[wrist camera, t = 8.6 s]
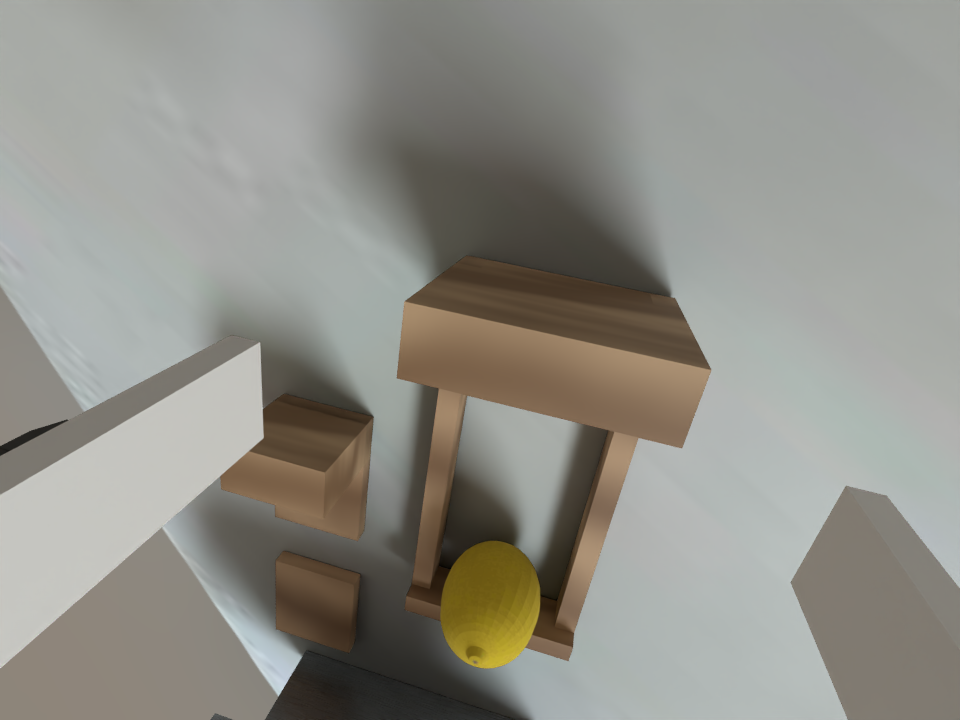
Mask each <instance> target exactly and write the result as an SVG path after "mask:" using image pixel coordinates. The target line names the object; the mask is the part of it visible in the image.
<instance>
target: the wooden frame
mask: <svg viewBox="0 0 960 720" xmlns="http://www.w3.org/2000/svg"><path fill="white" fill-rule="evenodd" d="M710 373H711V368H710V366H709V364H708V362H707V360H706V359H705V357H704V355H703V353H702V351H701V349H700V347H699V345H698V343H697V341H696V339H695V337H694V335H693V333H692V331H691V329H690V327H689V325H688V323H687V321H686V319H685V317H684V315H683V313H682V311H681V309H680V307H679V305H678V303H677V301H676V299H675V298H671V297H666V296H661V295H656V294H652V293H647V292H642V291H637V290H632V289H627V288H623V287H618V286H613V285H608V284H603V283H598V282H594V281H589V280H584V279H579V278H574V277H569V276H564V275H560V274H555V273H550V272H545V271H540V270H535V269H531V268H526V267H521V266H516V265H511V264H506V263H502V262H497V261H492V260H487V259H482V258H477V257H473V256H468V255H466V256H465V257H464V258H462V259H461V260H460V261H458V262H457V263H456V264H454V265H453V266H452V267H450V268H449V269H448V270H446V271H445V272H443V273H442V274H441V275H439V276H438V277H437V278H435V279H434V280H433V281H431V282H430V283H429V284H427V285H426V286H425V287H423V288H422V289H421V290H419V291H418V292H417V293H415V294H414V295H413V296H411V297H410V298H409V299H407V300H406V301H405V302H404V311H403V321H402V331H401V341H400V351H399V361H398V371H397V378H398V379H402V380H406V381H410V382H414V383H418V384H423V385H427V386H431V387H435V388H439V392H438V399H437V406H436V413H435V420H434V428H433V435H432V442H431V449H430V456H429V463H428V471H427V478H426V485H425V492H424V499H423V506H422V514H421V521H420V528H419V535H418V542H417V550H416V557H415V564H414V571H413V578H412V584H411V587H410V589H409V591H408V593H407V596H406V602H405V609H404V610H407V611H410V612H413V613H416V614H419V615H423V616H426V617H429V618H432V619H435V620H439V621H441V619H440V612H441V599H442V592H443V588H444V584H445V581H446V579H447V577H448V574H449V572H450V569H447V568H444V567H440V566H439V562H440V556H441V550H442V544H443V538H444V532H445V526H446V520H447V514H448V508H449V502H450V496H451V490H452V484H453V478H454V472H455V465H456V459H457V453H458V447H459V441H460V435H461V429H462V423H463V417H464V411H465V405H466V399H467V396H471V397H475V398H479V399H483V400H487V401H492V402H496V403H500V404H504V405H508V406H512V407H516V408H520V409H524V410H528V411H532V412H536V413H540V414H544V415H548V416H552V417H557V418H561V419H565V420H569V421H573V422H577V423H581V424H585V425H589V426H593V427H597V428H601V429H605V430H608V433H607V437H606V440H605V443H604V447H603V450H602V453H601V457H600V460H599V463H598V467H597V470H596V473H595V477H594V480H593V483H592V487H591V490H590V493H589V497H588V500H587V503H586V507H585V510H584V513H583V516H582V520H581V523H580V526H579V530H578V533H577V536H576V540H575V543H574V546H573V550H572V553H571V556H570V560H569V563H568V566H567V570H566V573H565V576H564V580H563V583H562V586H561V590H560V593H559V596H558V600H557V601H555V600H551V599H548V598H545V597H541V596H540V611H539V616H538V620H537V623H536V625H535V628H534V631H533V633H532V636H531V638H530V640H529V642H528V644H527V645H526V647H525V648H528V649H531V650H535V651H538V652H541V653H544V654H547V655H551V656H554V657H557V658H560V659H563V660H567V661H569V658H570V655H571V652H572V649H573V639H574V631H575V628H576V625H577V622H578V619H579V616H580V613H581V610H582V607H583V604H584V601H585V598H586V595H587V592H588V589H589V586H590V583H591V580H592V577H593V574H594V571H595V568H596V565H597V562H598V559H599V556H600V553H601V550H602V547H603V544H604V540H605V537H606V534H607V531H608V528H609V525H610V522H611V519H612V516H613V513H614V510H615V507H616V504H617V501H618V498H619V495H620V492H621V489H622V486H623V483H624V480H625V477H626V474H627V471H628V468H629V465H630V462H631V459H632V456H633V453H634V450H635V447H636V444H637V441H638V438H642V439H646V440H650V441H654V442H658V443H662V444H666V445H670V446H674V447H678V448H682V447H683V444H684V442H685V439H686V436H687V434H688V431H689V428H690V426H691V423H692V420H693V418H694V415H695V412H696V410H697V407H698V404H699V402H700V399H701V397H702V394H703V391H704V389H705V386H706V383H707V381H708V378H709V375H710Z"/></svg>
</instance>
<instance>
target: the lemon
mask: <svg viewBox="0 0 960 720" xmlns="http://www.w3.org/2000/svg"><path fill="white" fill-rule="evenodd" d="M539 611H540V585H539V581H538V577H537V574H536V571H535V568H534V567H533V565H532V564H531V562H530V560H529V559H528V557H527V556H526V555H525V554H524V553H522V552H521V551H520V550H519V549H518V548H516V547H515V546H513V545H511V544H508V543H505V542H501V541H486V542H482V543H478V544H476V545H474V546H472V547H471V548H469V549H467V550H466V551H465V552H464V553H463V554H462V555H461V556H460V557H459V558H458V559H457V560H456V562H455V563H454V565H453V566H452V568H451V570H450V572H449V574H448V577H447V579H446V581H445V584H444V588H443V592H442V599H441V612H440V619H441V626H442V630H443V634H444V637H445V639H446V641H447V643H448V645H449V646H450V648H451V649H452V651H453V652H454V653H455V654H456V655H457V656H458V657H459V658H460V659H462V660H463V661H464V662H466V663H468V664H470V665H472V666H475V667H478V668H496V667H500V666H503V665H505V664H507V663H509V662H511V661H512V660H514V659H515V658H516V657H517V656H518V655H519V654H520V653H521V652H522V651H523V649H524V648H525V647H526V645H527V644H528V642H529V640H530V638H531V636H532V633H533V631H534V628H535V625H536V623H537V620H538V616H539Z"/></svg>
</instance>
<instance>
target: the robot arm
mask: <svg viewBox="0 0 960 720" xmlns="http://www.w3.org/2000/svg"><path fill="white" fill-rule="evenodd" d="M263 438H264V434H263V406H262V378H261V350H260V342H258V341H254V340H250V339H246V338H241V337H237V336H233V335H230V336H229V337H227V338H225V339H223V340H221V341H219V342H217V343H215V344H213V345H211V346H209V347H208V348H206V349H204V350H202V351H200V352H198V353H196V354H194V355H192V356H190V357H188V358H187V359H185V360H183V361H181V362H179V363H177V364H175V365H173V366H171V367H169V368H167V369H166V370H164V371H162V372H160V373H158V374H156V375H154V376H152V377H150V378H148V379H146V380H145V381H143V382H141V383H139V384H137V385H135V386H133V387H131V388H129V389H127V390H125V391H124V392H122V393H120V394H118V395H116V396H114V397H112V398H110V399H108V400H106V401H105V402H103V403H101V404H99V405H97V406H95V407H93V408H91V409H89V410H87V411H85V412H84V413H82V414H80V415H78V416H76V417H74V418H72V419H70V420H64V421H61V422H58V423H55V424H51V425H48V426H45V427H42V428H38V429H35V430H32V431H29V432H27V433H25V434H23V435H21V436H20V437H17V438H15V439H14V440H12V441H10V442H8V443H6V444H4V445H2V446H0V668H1V667H2V666H3V665H5V664H6V663H7V662H8V661H9V660H10V659H11V658H13V657H14V656H15V655H16V654H17V653H18V652H20V651H21V650H22V649H23V648H24V647H25V646H26V645H27V644H28V643H30V642H31V641H32V640H33V639H34V638H35V637H37V636H38V635H39V634H40V633H41V632H42V631H43V630H45V629H46V628H47V627H48V626H49V625H50V624H51V623H53V622H54V621H55V620H56V619H57V618H58V617H60V615H62V614H63V613H64V612H65V611H66V610H68V609H69V608H70V607H71V606H72V605H73V604H74V603H76V601H78V600H79V599H80V598H81V597H82V596H83V595H85V594H86V593H87V592H88V591H89V590H90V589H91V588H93V587H94V586H95V585H96V584H97V583H98V582H99V581H101V580H102V579H103V578H104V577H105V576H106V575H108V574H109V573H110V572H111V571H112V570H113V569H114V568H115V567H117V566H118V565H119V564H120V563H121V562H122V561H123V560H124V559H126V558H127V557H128V556H129V555H130V554H132V553H133V552H134V551H135V550H136V549H137V548H138V547H140V546H141V545H142V544H143V543H144V542H145V541H146V540H148V539H149V538H150V537H151V536H152V535H153V534H154V533H156V532H157V531H158V530H159V529H160V528H161V527H162V526H164V525H165V524H166V523H167V522H168V521H169V520H170V519H172V518H173V517H174V516H175V515H176V514H177V513H178V512H180V511H181V510H182V509H183V508H184V507H185V506H186V505H188V504H189V503H190V502H191V501H192V500H193V499H195V498H196V497H197V496H198V495H199V494H200V493H201V492H203V491H204V490H205V489H206V488H207V487H208V486H209V485H211V484H212V483H213V482H214V481H215V480H216V479H217V478H219V477H220V476H221V475H222V474H223V473H224V472H225V471H227V470H228V469H229V468H230V467H231V466H232V465H233V464H235V463H236V462H237V461H238V460H239V459H240V458H241V457H243V456H244V455H245V454H246V453H247V452H248V451H249V450H251V449H252V448H253V447H254V446H255V445H256V444H257V443H259V442H260V441H261V440H262V439H263ZM791 584H792V587H793V589H794V592H795V594H796V596H797V599H798V601H799V604H800V606H801V608H802V611H803V613H804V615H805V618H806V620H807V623H808V625H809V627H810V630H811V632H812V635H813V637H814V639H815V642H816V644H817V647H818V649H819V651H820V654H821V656H822V659H823V661H824V663H825V666H826V668H827V671H828V673H829V675H830V678H831V680H832V683H833V685H834V687H835V690H836V692H837V695H838V697H839V699H840V702H841V704H842V707H843V709H844V711H845V714H846V716H847V719H848V720H960V588H959V587H958V586H957V585H956V583H955V582H954V581H953V580H952V578H951V577H950V576H949V574H948V573H947V572H946V571H945V569H944V568H943V567H942V566H941V564H940V563H939V562H938V560H937V559H936V558H935V557H934V555H933V554H932V553H931V552H930V550H929V549H928V548H927V546H926V545H925V544H924V543H923V541H922V540H921V539H920V538H919V536H918V535H917V534H916V533H915V531H914V530H913V529H912V527H911V526H910V525H909V524H908V522H907V521H906V520H905V519H904V517H903V516H902V515H901V513H900V512H899V511H898V510H897V508H896V507H895V506H894V505H893V503H892V502H891V501H890V499H889V498H888V497H887V496H885V495H881V494H877V493H873V492H869V491H865V490H861V489H857V488H853V487H849V486H846V487H845V488H844V490H843V492H842V494H841V495H840V497H839V499H838V501H837V502H836V504H835V506H834V508H833V509H832V511H831V513H830V515H829V516H828V518H827V520H826V522H825V523H824V525H823V527H822V529H821V530H820V532H819V534H818V536H817V537H816V539H815V541H814V543H813V544H812V546H811V548H810V550H809V551H808V553H807V555H806V557H805V558H804V560H803V562H802V564H801V565H800V567H799V569H798V571H797V572H796V574H795V576H794V578H793V579H792V581H791Z"/></svg>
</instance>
